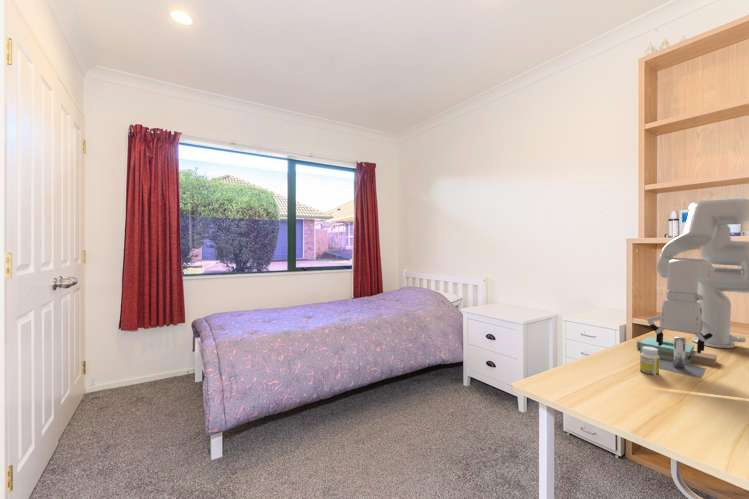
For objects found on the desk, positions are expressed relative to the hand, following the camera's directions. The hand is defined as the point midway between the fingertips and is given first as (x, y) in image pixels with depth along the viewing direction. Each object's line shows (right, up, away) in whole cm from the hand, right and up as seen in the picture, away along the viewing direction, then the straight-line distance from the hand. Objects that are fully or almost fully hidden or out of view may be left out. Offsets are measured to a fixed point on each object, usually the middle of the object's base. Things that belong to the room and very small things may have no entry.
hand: (679, 348), depth 113 cm
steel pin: (0, -6, +1) cm, 6 cm away
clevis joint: (+9, -7, +12) cm, 16 cm away
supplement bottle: (-13, -7, -3) cm, 15 cm away
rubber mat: (0, -7, +1) cm, 7 cm away
